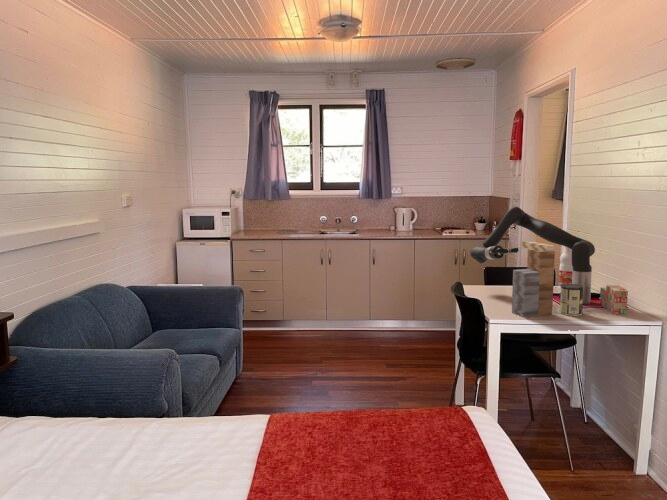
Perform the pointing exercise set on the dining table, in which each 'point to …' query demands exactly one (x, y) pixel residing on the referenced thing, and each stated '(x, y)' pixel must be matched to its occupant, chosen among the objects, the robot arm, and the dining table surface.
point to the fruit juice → (565, 267)
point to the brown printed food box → (614, 299)
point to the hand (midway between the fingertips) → (510, 249)
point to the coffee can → (571, 299)
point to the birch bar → (538, 246)
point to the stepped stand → (534, 285)
